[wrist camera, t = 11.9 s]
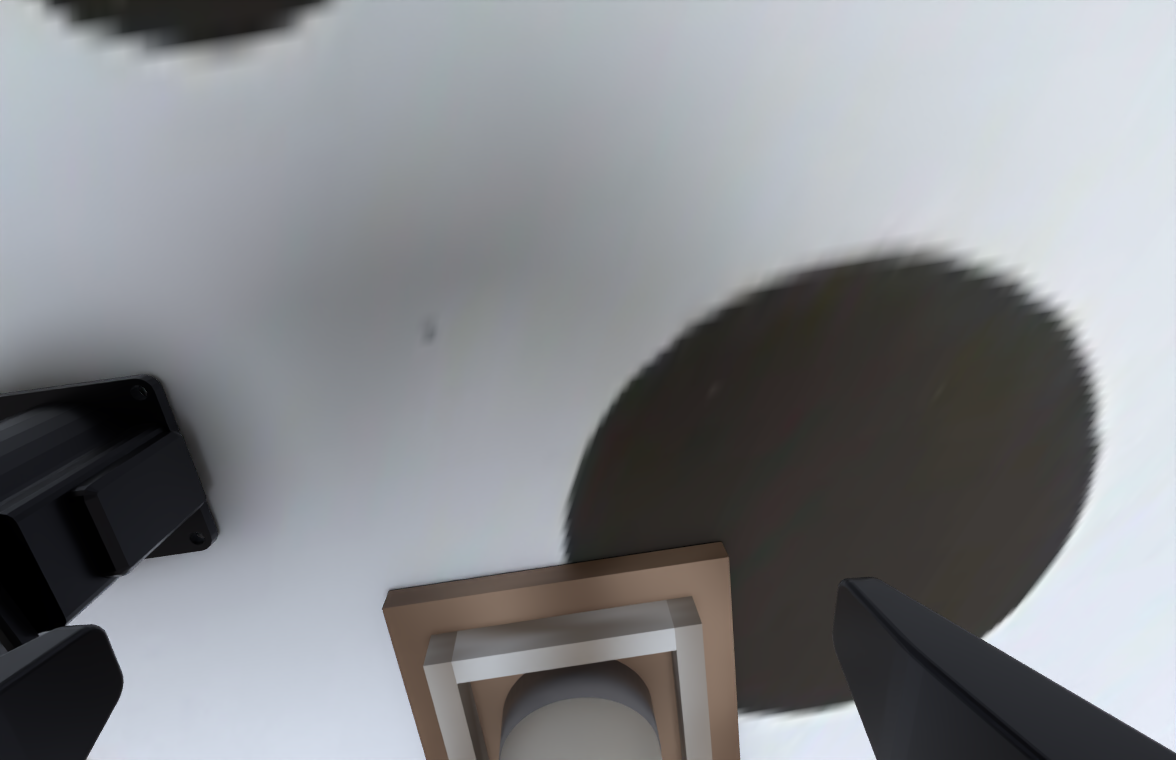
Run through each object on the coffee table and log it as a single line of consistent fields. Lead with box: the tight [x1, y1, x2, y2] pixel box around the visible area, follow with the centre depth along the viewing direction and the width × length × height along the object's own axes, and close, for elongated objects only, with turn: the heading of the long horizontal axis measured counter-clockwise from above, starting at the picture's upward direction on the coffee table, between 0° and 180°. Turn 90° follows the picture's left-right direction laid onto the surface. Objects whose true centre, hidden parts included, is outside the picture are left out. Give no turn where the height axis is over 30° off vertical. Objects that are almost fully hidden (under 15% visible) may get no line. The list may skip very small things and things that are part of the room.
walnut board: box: [382, 542, 740, 760], centre depth 23 cm, size 13×13×2 cm
